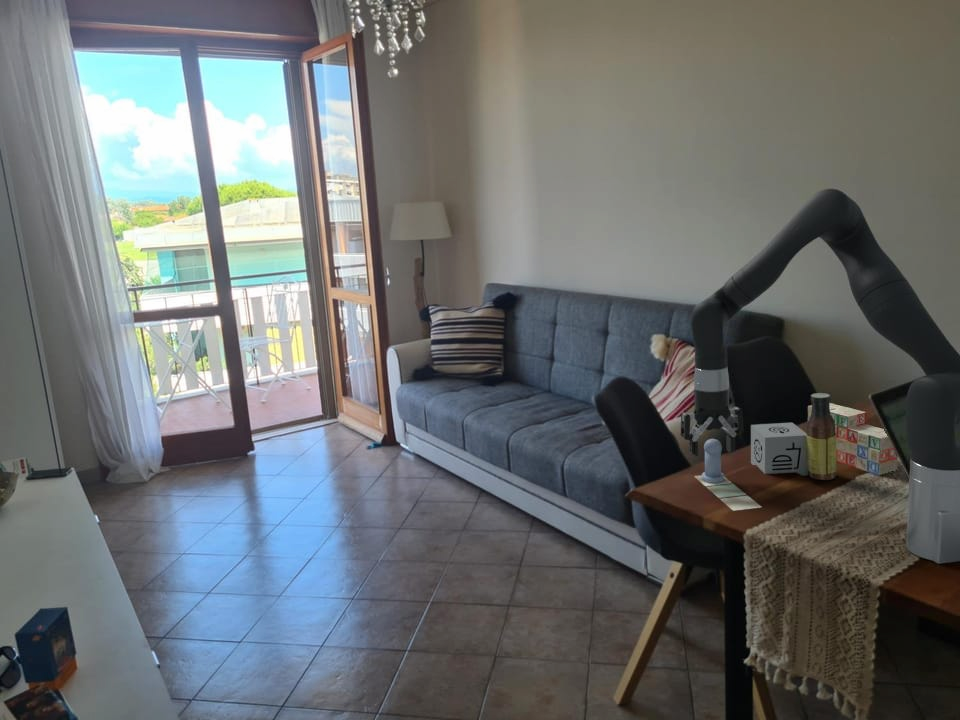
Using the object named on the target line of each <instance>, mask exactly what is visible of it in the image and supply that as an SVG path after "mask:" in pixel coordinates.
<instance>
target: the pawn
mask: <svg viewBox="0 0 960 720" xmlns="http://www.w3.org/2000/svg"><path fill="white" fill-rule="evenodd" d="M722 446H723V445H722V443H721V442H720V440H718V439H715V438H709V439H707V440H706V441H705V442H704V445H703V450H704V471H703V472H702V474H701V475H702V480H703V481H704V482H706V483H712V484H717V483H722V482H724V477H725V474H724V473H723V472H722V449H723V447H722Z"/></svg>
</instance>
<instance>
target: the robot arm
mask: <svg viewBox="0 0 960 720" xmlns="http://www.w3.org/2000/svg"><path fill="white" fill-rule="evenodd" d="M817 238H820V239H821V240H823V242H824V243H826V244H827V246H828V247H829V248H830V249H831V250H832V252H833V253H834V254H835V256H836V257H837V258H838V260H839V262H841V264H842V266H843V268H844V270H845V272H846V276H847V279H848V283H849V287H850V290H851V293H852V296H853V298H854V300H855V302H856V305H857V306H858V307H859V309H860V311H861V312H862V313H863V315H864V317H865V319H866V320H867V322H868V323H869V325H870V326H871V327H872V329H874V331H875V332H877V333H878V334H879V335H880V336H882V337H883V338H884V339H886V340H887V341H888V342H890V343H892V345H894V346H896V347H898V348H899V349H900V350H902V351H903V352H905V353H906V354H907V355H909V357H911V358H912V359H913V361H915V362H916V363H917V364H918V366H919V367H920V368H921V370H923V372H924V374H925V375H924V376H920V377H918V378H915V380H913V382H912V383H911V384H910V385H909V388H908V391H907V395H906V402H905V408H906V409H905V411H906V412H905V415H906V416H905V418H906V420H905V421H906V423H905V424H906V426H905V427H906V430H905V431H906V441H907V444H908V447H909V450H910V462H909V463H910V465H909V477H908V478H909V483H908V496H907V499H908V501H907V517H906V518H907V522H906V544H905V547H906V548H907V550H908V551H909V552H910V553H912V554H913V555H914V556H917V557H920V558H922V559H926V560H928V561H932V562H935V564H939V565H940V564H946V563H955V562H960V442H959V441H956V425H960V354H959V352H958V351H957V349H955V347H954V346H953V345H952V344H951V342H950V341H949V339H947V337H946V336H945V335H944V333H943V332H942V330H941V329H940V327H939V326H938V325H937V323H936V322H935V321H934V319H933V317H932V316H931V315H930V313H929V312H928V311H927V309H926V307H925V306H924V305H923V302H922V301H921V300H920V298H919V296H918V295H917V293H916V291H915V290H914V288H913V287H912V285H911V284H910V283H909V281H908V280H907V279H906V277H905V276H904V274H903V273H902V272H901V270H900V269H899V268H898V267H897V265H896V264H895V263H894V261H893V260H892V259H891V258H890V257H889V256H888V255H887V253H886V252H885V251H884V250H883V249H882V247H881V245H879V243H878V242H877V239H876V238H875V236H874V234H873V232H872V230H871V227H870V226H869V224H868V222H867V220H866V217H865V215H864V213H863V211H862V208H861V207H860V206H859V205H858V204H857V202H856V201H855V200H854V199H852V198H851V197H849V195H847V194H846V193H844V192H843V191H841V190H839V189H836V188H825V189H822V190H820V191H818V192H816V193H814V194H813V195H812V196H811V197H810V198H808V200H807V201H806V202H805V203H803V204H802V206H801V207H800V208H799V209H798V211H796V213H795V214H794V215H793V216H792V217H791V219H789V221H788V222H787V223H786V224H785V225H784V226H783V227H782V228H781V230H780V231H779V232H777V234H776V235H775V236H774V237H773V238H772V239H771V240H770V242H768V243H767V245H766V246H764V247H763V249H761V250H760V251H759V252H758V253H757V254H756V255H755V256H754V257H753V258H752V259H751V260H749V262H747V263H746V264H745V265H744V266H743V267H741V268H740V269H738V271H737V272H735V273H734V274H733V275H732V276H731V277H729V278H728V279H727V280H726V282H725V283H724V285H723V286H721V287H720V288H719V289H717V290H716V291H715V292H713V293H712V294H711V295H709V296H708V297H707V298H705V299H704V300H702V301H700V302H699V303H698V304H697V305H695V307H694V308H693V310H692V312H691V317H690V325H691V333H692V339H693V340H692V341H693V345H694V375H693V381H694V382H693V387H694V389H693V390H694V411H693V412H685V411H684V412H681V413H680V437H681V438H683V439H684V440H686V441H688V445H689V446H688V448H689V449H688V450H689V453H690V454H691V455H692V456H693V457H699V441H698V439H699V438H700V436H701V435H703V433H704V432H705V431H712V430H721V429H723V431H725V433H726V435H725V437H726V439H725V441H726V443H725V444H726V445H725V447H726V451H727V452H729V453H733V452H734V450H736V438H737V437H736V436H737V435H741V434H743V433H744V432H745V430H744V429H745V427H744V416H743V414H744V413H743V409H742V408H740V407H738V406H733V407H732V408H729V405H730V391H729V390H730V388H729V387H730V381H729V379H730V376H729V372H728V371H729V370H728V348H727V347H728V346H727V345H726V343H725V342H724V325H725V324H726V323H728V322H729V321H730V320H731V319H732V318H734V317H735V315H736V314H738V313H739V312H740V311H741V310H742V309H743V308H744V307H746V306H748V305H750V304H751V303H753V302H754V301H755V300H756V299H757V298H759V297H760V296H761V295H762V294H764V293H766V291H768V290H769V288H771V287H772V286H773V285H774V284H775V283H776V282H777V281H778V279H780V278H781V275H783V272H784V271H785V270H786V268H787V267H788V265H789V263H790V262H791V261H792V260H793V258H795V256H796V255H797V254H798V253H799V252H800V251H801V250H802V249H803V248H805V247H806V246H808V244H810V243H812V242H813V241H815V240H816V239H817ZM730 416H731V417H732V418H733V420H732V421H733V428H732V426H731V424H730V423H729V422H728V421H727V420H728V419H729V418H730ZM693 420H695V423H694V424H693V426H692V429H691V423H692V422H693Z"/></svg>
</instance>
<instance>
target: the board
mask: <svg viewBox="0 0 960 720" xmlns="http://www.w3.org/2000/svg"><path fill="white" fill-rule="evenodd" d="M694 478H695V479H697V480H698V481H699V482H700V483H701V484H702V485H703V486H704V487H706V488H707V489H708V490H709V492H711V493H712V494H714V495H715V496H716V497H717V498H718V499H719V500H720V501H722V503H724V504H725V505H726V506H727V507H728V508H729V509H730V510H732V511H733V512H735V511H736V512H737V511H745V510H751V509H760V508H762V506H761V505H760V504H759V503H757V502H756V501H755V500H754V499H752V498H751V497H750V496H749V495H747V493H745V492H744V491H743V490H742V489H741V488H739V487H738V486H736V485H735V484H734V483H732V481H730V480H729V479H728V478H726V476H724V482H722V483H717V484H712V483H706V482H704V481H703V480H702V474H700V475H694Z"/></svg>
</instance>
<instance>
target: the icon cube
mask: <svg viewBox="0 0 960 720" xmlns="http://www.w3.org/2000/svg"><path fill="white" fill-rule="evenodd" d="M750 464H751V465H752V466H757V468H759V470H760V471H761V472H762V473H763V474H764V475H768V474H769V475H771V474H772V475H773V474H786V473H787V474H789V473H791V474H792V473H797V474H799V475H800V476H803V477H804V476H809V475H808V470H807V435H806V432H805V431H804V430H803V429H802V428H800V427H798V426H797V424H795V423H793V422H781V423H780V422H778V423H776V422H775V423H759V424H750Z"/></svg>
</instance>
